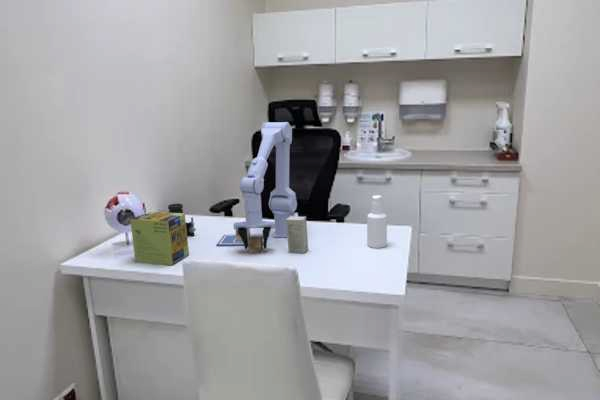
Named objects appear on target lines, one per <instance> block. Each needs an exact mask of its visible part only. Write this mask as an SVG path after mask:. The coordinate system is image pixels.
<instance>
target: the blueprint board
mask: <svg viewBox="0 0 600 400" xmlns="http://www.w3.org/2000/svg"><path fill="white" fill-rule="evenodd" d="M250 236H263V233H258V234H257V233H254V234H253V233H250ZM269 236H270V235H269ZM269 236H268V238H269ZM216 247H245V246H244V243H243V241H236V234H223V236H221V238H220V239H219V241H218V242H217V243H216ZM263 247H264V240H263Z"/></svg>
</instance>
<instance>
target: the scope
mask: <svg viewBox="0 0 600 400" xmlns="http://www.w3.org/2000/svg"><path fill="white" fill-rule="evenodd" d="M183 207H184V206H183V204H182V203H172V204H169V205H168V206H167V208H168V213H184V210H183V209H184V208H183ZM186 230H187V238H189V237H193V236H195V232H196V230H197V229H196V227H195V222H194V217H193V216H192V217H190V221H189V222H186Z"/></svg>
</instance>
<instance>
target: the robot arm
mask: <svg viewBox="0 0 600 400" xmlns="http://www.w3.org/2000/svg"><path fill="white" fill-rule="evenodd" d="M260 133H261V139H262V140H261V142H260V145H259V149H258V153H257V156H256V157H255V158H253V159H252V160H251V163H250V165H249V168H248V170H247V173H246V176H244V177H243V178H242V179H241V180H240V185H239V189H240V192H241V194H242V198H243V200H244V212H245V215H244V216H245V221H238V222H234V223H232V225H233V230H235V229H238V234H239V235H240V237H241V238H242V240H243V243H244V246H243V247H244V249H245V250H246V249H248V239H247V228H250V229H262V231H261V232H262V234H263V240H264V246H263V249H267V245H268V243H267V242H268V239H269V237H268V236H270V232H271V230H272V229H274V233H273V236H272V237H273V238H287V226H286V219H287V218H289V217H290V216H297V217H299V213H298V212H295V211H296V210H297V207H298V202H297V201H298V200H297V195H296V192H295V191H293V189H292V188H290V145H291V144H292V141H293V127H292V126H291V125H290V123H289V122H288V121H285V122H284V121H282V122H281V121H279V122H276V121H275V122H274V121H273V122H270V121H265V122H264V123H263V124H262V126H261V131H260ZM274 147H275V188H274V189H273V190H272V191H270V195H269V196H270V197H269V200H268V207H269V209H270V211H271V212H272V214H273V216H274V217H273V218H274V221H270V220H269V221H267V220H263V213H262V211H263V210H262V196H261V193H262V192H263V190H264V187H265V185H264V181H265V179H264V177H265V174H266V172H267V169H268V166H269V164H268V161H267V160H268V158H269V156H270V153H271V152H272V150H273V149H274Z"/></svg>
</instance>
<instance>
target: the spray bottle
mask: <svg viewBox="0 0 600 400" xmlns="http://www.w3.org/2000/svg"><path fill="white" fill-rule="evenodd" d="M387 221H388V216H387V214H386V213H384V209H383V196H382V195H371V206H370V213H368V214H367V216H366V226H367V227H366V231H367V232H366V233H367V235H366V236H367V240H366V241H367V246H368V247H370V248H373V249H382V248H385V247H387V245H388V244H387V240H388V239H387V238H388V236H387V235H388V234H387V233H388V232H387V230H388V228H387V227H388V222H387Z"/></svg>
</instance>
